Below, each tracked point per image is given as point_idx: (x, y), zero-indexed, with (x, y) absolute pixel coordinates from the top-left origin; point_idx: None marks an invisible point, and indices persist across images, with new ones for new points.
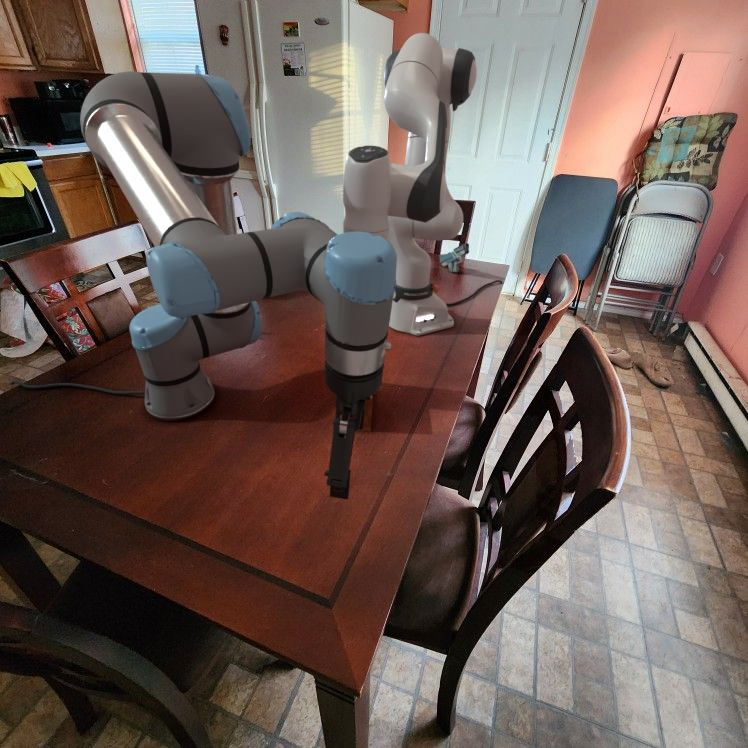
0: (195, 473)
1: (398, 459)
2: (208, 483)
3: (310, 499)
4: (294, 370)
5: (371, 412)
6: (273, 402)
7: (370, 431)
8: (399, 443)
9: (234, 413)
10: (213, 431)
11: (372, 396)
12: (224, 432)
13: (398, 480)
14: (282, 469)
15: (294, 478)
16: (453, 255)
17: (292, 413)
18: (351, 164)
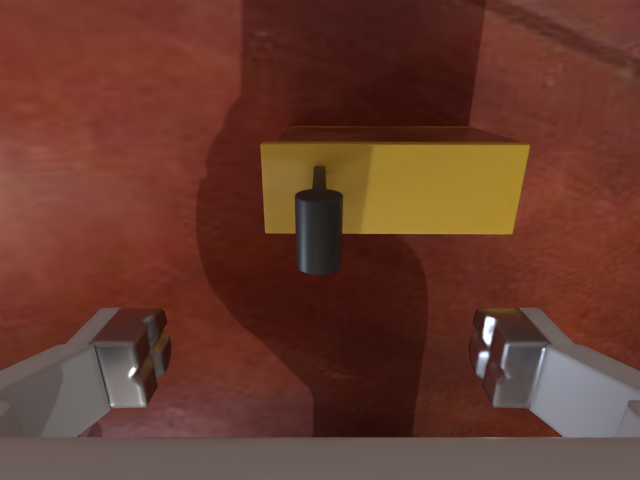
0: (550, 429)
1: (583, 44)
2: None
3: None
4: (221, 339)
5: (494, 134)
6: (355, 358)
7: (468, 126)
8: (522, 39)
9: (393, 415)
10: (446, 433)
11: (361, 129)
12: (450, 417)
13: None
14: (566, 305)
15: (595, 280)
16: None
17: (393, 316)
18: None
